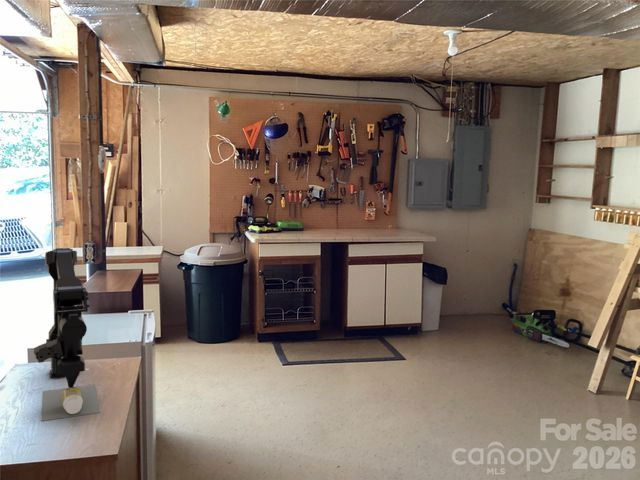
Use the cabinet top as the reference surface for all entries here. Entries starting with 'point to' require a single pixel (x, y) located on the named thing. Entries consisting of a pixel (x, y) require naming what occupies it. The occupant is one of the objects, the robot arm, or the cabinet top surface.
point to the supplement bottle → (72, 400)
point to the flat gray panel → (54, 403)
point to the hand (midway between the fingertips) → (70, 387)
